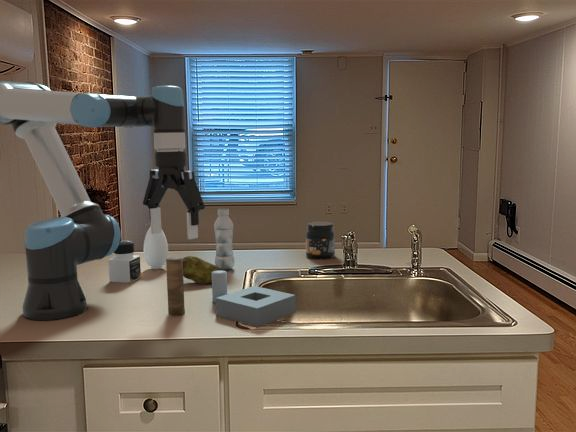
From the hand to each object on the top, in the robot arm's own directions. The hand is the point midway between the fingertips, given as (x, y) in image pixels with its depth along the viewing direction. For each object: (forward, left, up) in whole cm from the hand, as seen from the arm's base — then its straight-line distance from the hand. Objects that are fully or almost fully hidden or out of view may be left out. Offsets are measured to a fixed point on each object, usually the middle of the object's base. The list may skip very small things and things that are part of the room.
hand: (174, 235), depth 146 cm
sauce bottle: (+25, +41, -20) cm, 52 cm away
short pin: (+12, -3, -19) cm, 23 cm away
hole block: (+10, -18, -19) cm, 28 cm away
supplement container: (+73, +9, -20) cm, 76 cm away
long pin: (-2, -2, -19) cm, 19 cm away
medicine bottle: (+10, +37, -20) cm, 43 cm away
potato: (+22, +16, -20) cm, 33 cm away
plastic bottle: (+38, +22, -19) cm, 48 cm away
